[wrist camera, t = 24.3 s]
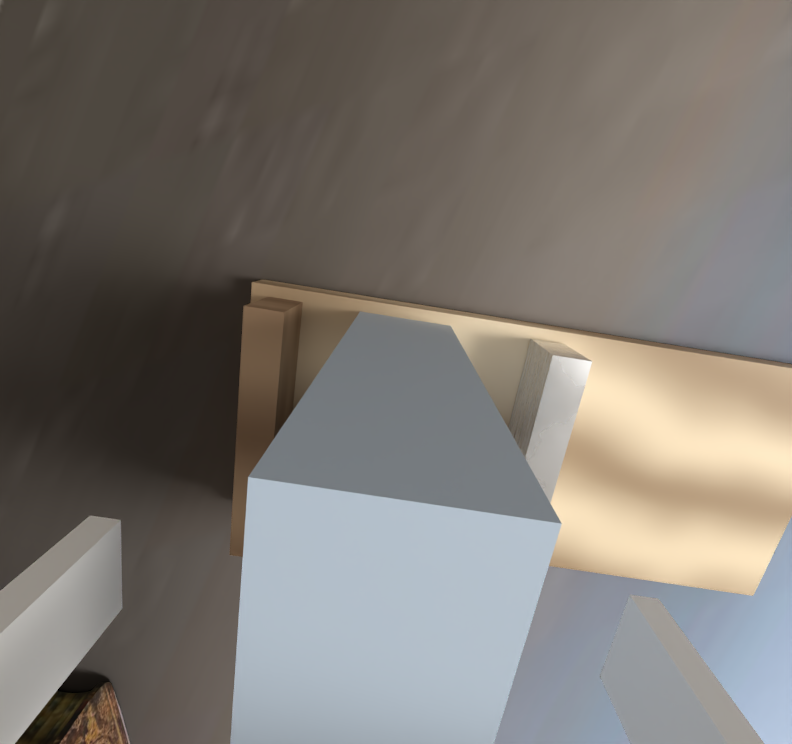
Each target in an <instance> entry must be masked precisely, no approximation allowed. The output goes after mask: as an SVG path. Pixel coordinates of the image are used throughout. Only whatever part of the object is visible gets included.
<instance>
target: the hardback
mask: <svg viewBox="0 0 792 744" xmlns="http://www.w3.org/2000/svg"><path fill="white" fill-rule="evenodd" d="M561 525H562V523H561V521H560V520H559V518H558V516H557V514H556V512H555V511H554V509H553V507H552V505H551V504H550V502H549V500H548V498H547V496H546V495H545V493H544V491H543V489H542V487H541V486H540V484H539V482H538V480H537V479H536V477H535V475H534V473H533V471H532V470H531V468H530V466H529V464H528V463H527V461H526V459H525V457H524V455H523V454H522V452H521V450H520V448H519V447H518V445H517V443H516V441H515V439H514V438H513V436H512V434H511V432H510V430H509V429H508V427H507V425H506V423H505V422H504V420H503V418H502V416H501V414H500V413H499V411H498V409H497V407H496V406H495V404H494V402H493V400H492V398H491V397H490V395H489V393H488V391H487V390H486V388H485V386H484V384H483V382H482V381H481V379H480V377H479V375H478V374H477V372H476V370H475V368H474V366H473V365H472V363H471V361H470V359H469V357H468V356H467V354H466V352H465V350H464V349H463V347H462V345H461V343H460V341H459V340H458V338H457V336H456V334H455V333H454V331H453V329H452V327H451V326H449V325H442V324H436V323H430V322H424V321H417V320H411V319H405V318H398V317H392V316H386V315H380V314H373V313H367V312H361V311H360V312H359V314H358V315H357V317H356V318H355V320H354V321H353V323H352V324H351V326H350V327H349V329H348V330H347V332H346V333H345V335H344V336H343V337H342V339H341V340H340V342H339V343H338V345H337V346H336V348H335V349H334V351H333V352H332V354H331V355H330V357H329V358H328V360H327V361H326V363H325V364H324V366H323V367H322V369H321V370H320V372H319V373H318V374H317V376H316V377H315V379H314V380H313V382H312V383H311V385H310V386H309V388H308V389H307V391H306V392H305V394H304V395H303V397H302V398H301V400H300V401H299V403H298V404H297V406H296V407H295V409H294V410H293V411H292V413H291V414H290V416H289V417H288V419H287V420H286V422H285V423H284V425H283V426H282V428H281V429H280V431H279V432H278V434H277V435H276V437H275V438H274V440H273V441H272V443H271V444H270V445H269V447H268V448H267V450H266V451H265V453H264V454H263V456H262V457H261V459H260V460H259V462H258V463H257V465H256V466H255V468H254V469H253V471H252V472H251V474H250V475H249V477H248V487H247V502H246V517H245V532H244V547H243V562H242V577H241V592H240V607H239V622H238V637H237V652H236V667H235V682H234V697H233V712H232V727H231V742H230V744H494V741H495V738H496V735H497V732H498V728H499V725H500V722H501V719H502V716H503V712H504V709H505V706H506V703H507V699H508V696H509V693H510V690H511V686H512V683H513V680H514V677H515V674H516V670H517V667H518V664H519V661H520V657H521V654H522V651H523V648H524V644H525V641H526V638H527V635H528V631H529V628H530V625H531V622H532V619H533V615H534V612H535V609H536V606H537V602H538V599H539V596H540V593H541V589H542V586H543V583H544V580H545V576H546V573H547V570H548V567H549V564H550V560H551V557H552V554H553V551H554V547H555V544H556V541H557V538H558V534H559V531H560V528H561Z"/></svg>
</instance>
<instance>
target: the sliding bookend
mask: <svg viewBox="0 0 792 744" xmlns="http://www.w3.org/2000/svg"><path fill="white" fill-rule="evenodd" d="M591 364H592V361H591V360H589V359H588V358H586V357H585V356H583V355H581V354H580V353H578V352H576V351H575V350H573V349H572V348H570V347H568V346H567V345H565V344H563V343H556V342H550V341H544V340H537V339H530V343H529V347H528V351H527V355H526V359H525V363H524V367H523V371H522V375H521V379H520V383H519V387H518V391H517V395H516V399H515V403H514V407H513V411H512V415H511V419H510V423H509V427H508V429H509V430H510V432H511V434H512V436H513V438H514V439H515V441H516V443H517V445H518V447H519V448H520V450H521V452H522V454H523V455H524V457H525V459H526V461H527V463H528V464H529V466H530V468H531V470H532V471H533V473H534V475H535V477H536V479H537V480H538V482H539V484H540V486H541V487H542V489H543V491H544V493H545V495H546V496H547V498H548V500H549V502H550V503H551V500H552V496H553V493H554V490H555V486H556V483H557V479H558V476H559V473H560V469H561V466H562V463H563V459H564V456H565V452H566V449H567V446H568V442H569V439H570V435H571V432H572V429H573V425H574V422H575V419H576V415H577V412H578V408H579V405H580V402H581V398H582V395H583V392H584V388H585V385H586V381H587V378H588V375H589V371H590V368H591Z"/></svg>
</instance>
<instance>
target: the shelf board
mask: <svg viewBox="0 0 792 744" xmlns="http://www.w3.org/2000/svg"><path fill="white" fill-rule="evenodd" d="M360 311H361V312H367V313H373V314H380V315H386V316H392V317H398V318H405V319H411V320H417V321H424V322H430V323H436V324H442V325H449V326H451V327H452V329H453V331H454V333H455V334H456V336H457V338H458V340H459V341H460V343H461V345H462V347H463V349H464V350H465V352H466V354H467V356H468V357H469V359H470V361H471V363H472V365H473V366H474V368H475V370H476V372H477V374H478V375H479V377H480V379H481V381H482V382H483V384H484V386H485V388H486V390H487V391H488V393H489V395H490V397H491V398H492V400H493V402H494V404H495V406H496V407H497V409H498V411H499V413H500V414H501V416H502V418H503V420H504V422H505V423H506V425H507V427H509V423H510V419H511V415H512V411H513V407H514V403H515V399H516V395H517V391H518V387H519V383H520V379H521V375H522V371H523V367H524V363H525V359H526V355H527V351H528V347H529V343H530V339H537V340H544V341H550V342H556V343H563V344H565V345H567V346H568V347H570V348H572V349H573V350H575V351H576V352H578V353H580V354H581V355H583V356H585V357H586V358H588V359H589V360H591V361H592V364H591V368H590V371H589V375H588V378H587V381H586V385H585V388H584V392H583V395H582V398H581V402H580V405H579V408H578V412H577V415H576V419H575V422H574V425H573V429H572V432H571V435H570V439H569V442H568V446H567V449H566V452H565V456H564V459H563V463H562V466H561V469H560V473H559V476H558V479H557V483H556V486H555V490H554V493H553V496H552V500H551V503H550V504H551V505H552V507H553V509H554V511H555V512H556V514H557V516H558V518H559V520H560V521H561V523H562V525H561V528H560V531H559V534H558V538H557V541H556V544H555V547H554V551H553V554H552V557H551V560H550V564H549V566H554V567H560V568H567V569H574V570H581V571H588V572H595V573H601V574H608V575H615V576H622V577H629V578H636V579H643V580H649V581H656V582H663V583H670V584H677V585H684V586H690V587H697V588H704V589H711V590H718V591H725V592H731V593H738V594H745V595H752V596H753V595H754V593H755V591H756V589H757V587H758V585H759V582H760V580H761V578H762V576H763V574H764V572H765V570H766V568H767V566H768V564H769V562H770V560H771V558H772V556H773V553H774V551H775V549H776V547H777V545H778V543H779V541H780V539H781V537H782V535H783V533H784V531H785V529H786V526H787V524H788V522H789V520H790V518H791V516H792V364H788V363H782V362H776V361H769V360H763V359H757V358H751V357H744V356H738V355H732V354H726V353H719V352H713V351H707V350H701V349H694V348H688V347H682V346H676V345H669V344H663V343H657V342H651V341H644V340H638V339H632V338H626V337H619V336H613V335H607V334H601V333H594V332H588V331H582V330H576V329H569V328H563V327H557V326H551V325H544V324H538V323H532V322H526V321H519V320H513V319H507V318H501V317H494V316H488V315H482V314H476V313H469V312H463V311H457V310H451V309H444V308H438V307H432V306H426V305H419V304H413V303H407V302H401V301H394V300H388V299H382V298H376V297H369V296H363V295H357V294H351V293H344V292H338V291H332V290H326V289H319V288H313V287H307V286H301V285H294V284H288V283H282V282H276V281H269V280H259V281H255V282H252V288H251V303H250V304H247V305H245V306H244V308H243V326H242V344H241V361H240V379H239V397H238V415H237V433H236V450H235V468H234V486H233V504H232V522H231V539H230V555H234V556H241V557H243V547H244V532H245V517H246V502H247V487H248V477H249V475H250V474H251V472H252V471H253V469H254V468H255V466H256V465H257V463H258V462H259V460H260V459H261V457H262V456H263V454H264V453H265V451H266V450H267V448H268V447H269V445H270V444H271V443H272V441H273V440H274V438H275V437H276V435H277V434H278V432H279V431H280V429H281V428H282V426H283V425H284V423H285V422H286V420H287V419H288V417H289V416H290V414H291V413H292V411H293V410H294V409H295V407H296V406H297V404H298V403H299V401H300V400H301V398H302V397H303V395H304V394H305V392H306V391H307V389H308V388H309V386H310V385H311V383H312V382H313V380H314V379H315V377H316V376H317V374H318V373H319V372H320V370H321V369H322V367H323V366H324V364H325V363H326V361H327V360H328V358H329V357H330V355H331V354H332V352H333V351H334V349H335V348H336V346H337V345H338V343H339V342H340V340H341V339H342V337H343V336H344V335H345V333H346V332H347V330H348V329H349V327H350V326H351V324H352V323H353V321H354V320H355V318H356V317H357V315H358V314H359V312H360Z"/></svg>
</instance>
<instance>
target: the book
mask: <svg viewBox="0 0 792 744" xmlns="http://www.w3.org/2000/svg"><path fill="white" fill-rule="evenodd" d="M15 744H130V741H129V737H128V734H127V730H126V726H125V723H124V719H123V716H122V713H121V710H120V707H119V704H118V701H117V698H116V695H115V692H114V689H113V686H112V684H111V683H110V682H101V683H99V684H98V685H96V686H95V687H94V688H93V690H92V691H88V692H82V693H66V692H59V691H56V692H55V694H54V695H53V696H52V698H51V699H50V700H49V701H48V703H47V704H46V705H45V706H44V708H43V709H42V710H41V711H40V713H39V714H38V715H37V716H36V718H35V719H34V720H33V721H32V723H31V724H30V725H29V727H28V728H27V729H26V730H25V732H24V733H23V734H22V735H21V737H20V738H19V739H18V740H17V742H16V743H15Z"/></svg>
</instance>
